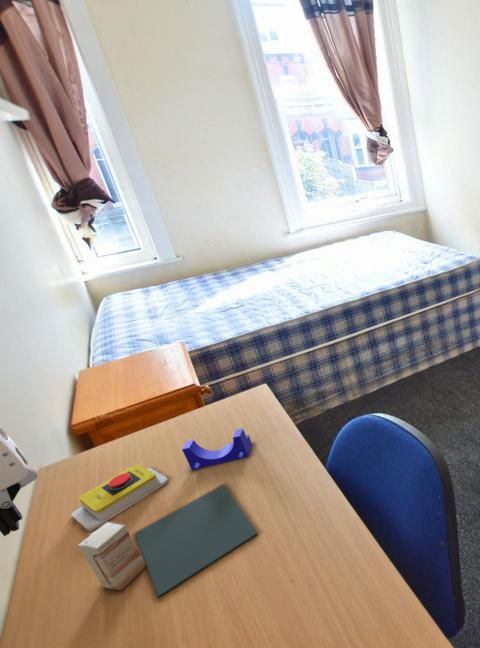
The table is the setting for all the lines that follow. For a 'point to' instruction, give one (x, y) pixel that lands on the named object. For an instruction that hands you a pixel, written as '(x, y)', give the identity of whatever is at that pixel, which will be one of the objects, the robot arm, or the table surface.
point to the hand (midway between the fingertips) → (11, 527)
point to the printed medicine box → (112, 555)
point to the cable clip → (230, 452)
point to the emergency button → (117, 495)
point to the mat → (193, 538)
